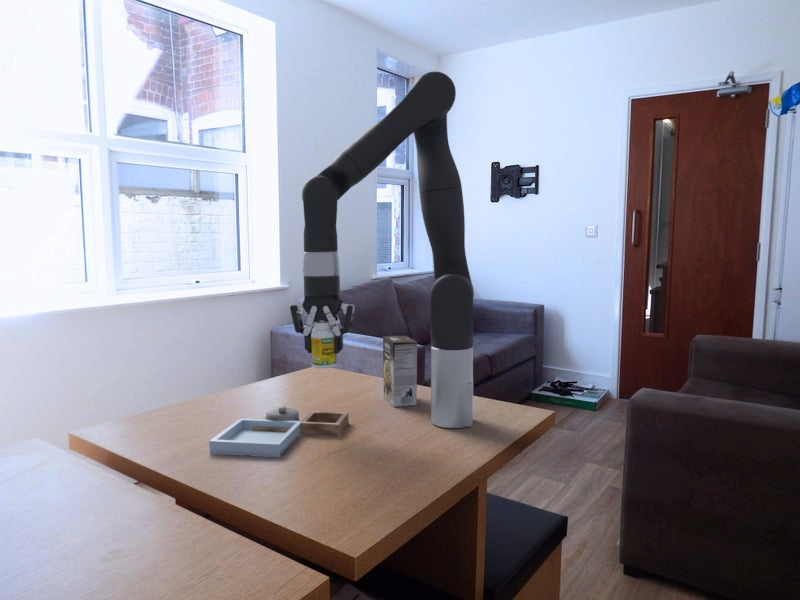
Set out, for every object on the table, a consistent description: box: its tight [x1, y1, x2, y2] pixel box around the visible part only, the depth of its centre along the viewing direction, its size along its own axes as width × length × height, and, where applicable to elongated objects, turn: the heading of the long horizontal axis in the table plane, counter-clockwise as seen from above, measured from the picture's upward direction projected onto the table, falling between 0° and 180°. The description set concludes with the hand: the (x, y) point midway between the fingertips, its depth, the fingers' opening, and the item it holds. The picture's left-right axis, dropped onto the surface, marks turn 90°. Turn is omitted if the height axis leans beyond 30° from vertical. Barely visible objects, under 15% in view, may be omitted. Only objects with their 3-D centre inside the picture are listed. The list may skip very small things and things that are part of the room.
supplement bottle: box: [311, 321, 338, 370], centre depth 123 cm, size 5×5×10 cm
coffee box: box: [382, 335, 418, 408], centre depth 145 cm, size 9×6×16 cm
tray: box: [209, 418, 302, 458], centre depth 116 cm, size 14×14×2 cm
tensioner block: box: [252, 405, 350, 437], centre depth 125 cm, size 19×10×4 cm, turn 82°
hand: (323, 352), depth 123 cm, fingers closed on supplement bottle, 5 cm apart
